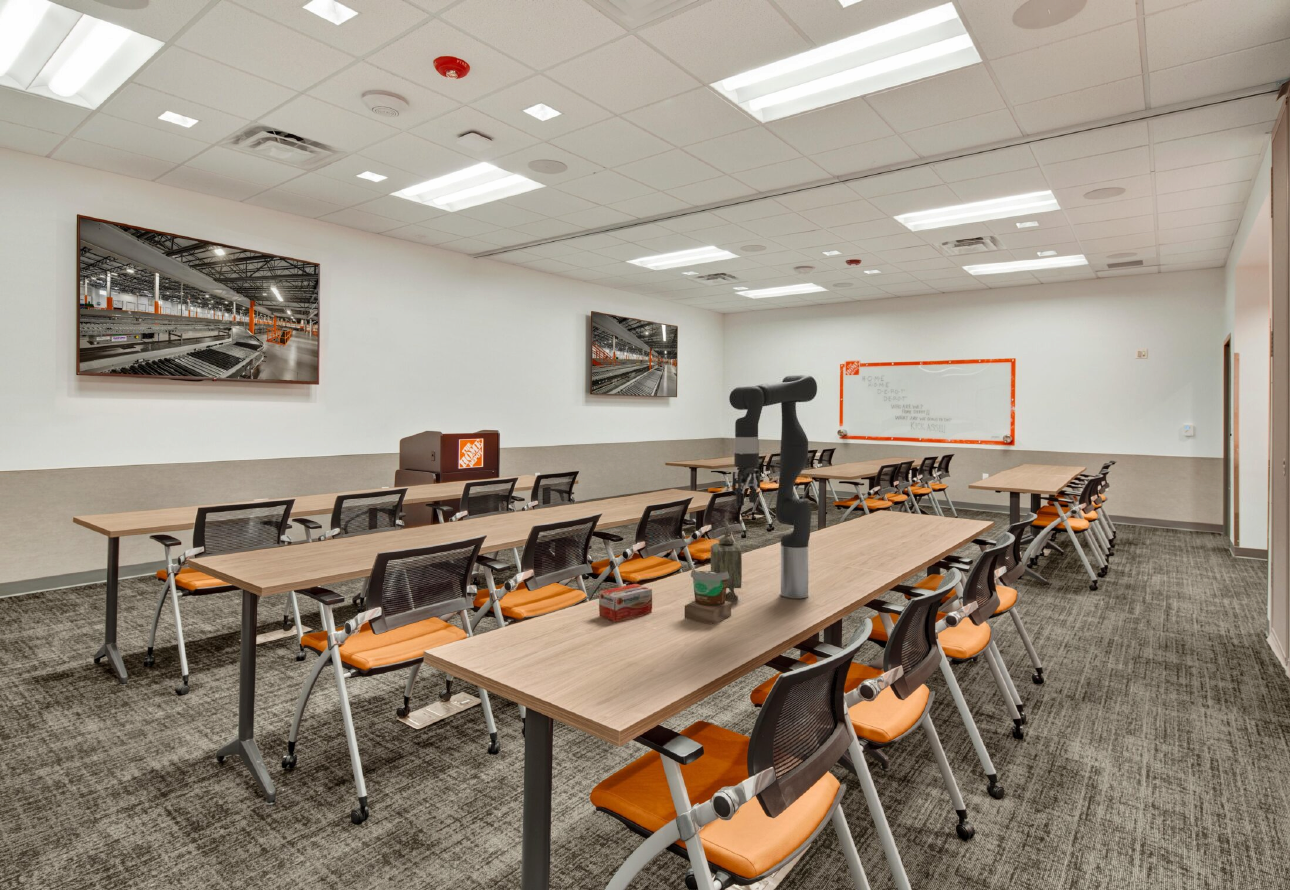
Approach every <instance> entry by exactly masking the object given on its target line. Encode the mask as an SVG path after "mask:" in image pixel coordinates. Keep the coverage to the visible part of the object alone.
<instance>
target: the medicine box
mask: <svg viewBox="0 0 1290 890" xmlns="http://www.w3.org/2000/svg"><path fill="white" fill-rule="evenodd" d="M598 595H599V597H598V611H599V617H601V618H604V619H608V620H610V621H611V622H613V623H619V622H623V621H625V620H629V619H634V618H637V617H641V616H646V615H650V614H652V613H653V588H650V587H647V586H645V585H642V584H638V583H633V584H628V585H627V584H626V585H624V586H619V587H614V588H610V589H606V590H601V591H599V594H598Z"/></svg>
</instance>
